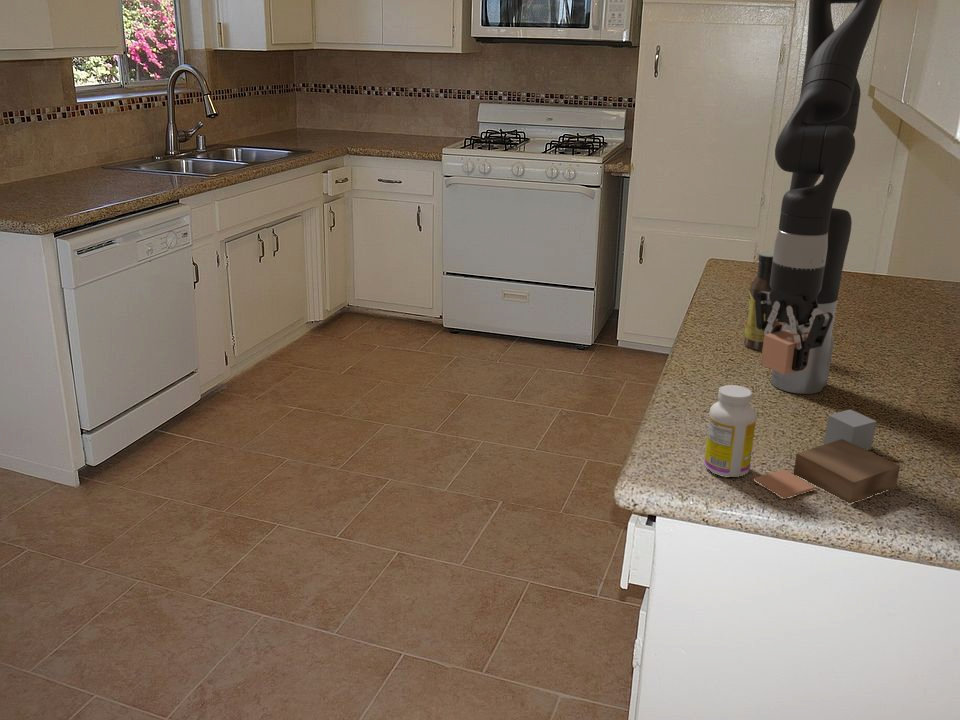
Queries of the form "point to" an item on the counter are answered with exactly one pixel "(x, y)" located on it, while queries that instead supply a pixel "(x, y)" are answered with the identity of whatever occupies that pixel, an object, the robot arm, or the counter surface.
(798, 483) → the tile
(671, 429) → the counter surface
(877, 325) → the counter surface
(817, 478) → the walnut block
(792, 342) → the terracotta block
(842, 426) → the grey block
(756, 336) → the sauce bottle
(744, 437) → the supplement bottle
